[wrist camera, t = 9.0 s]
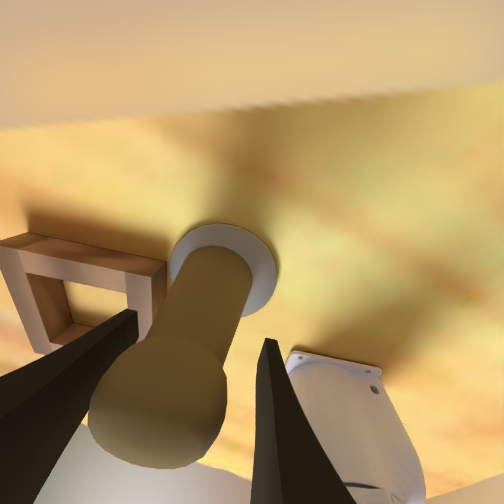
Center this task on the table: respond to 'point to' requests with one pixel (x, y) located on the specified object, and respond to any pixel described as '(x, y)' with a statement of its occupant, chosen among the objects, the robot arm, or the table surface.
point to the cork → (175, 368)
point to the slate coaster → (242, 245)
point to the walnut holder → (79, 271)
